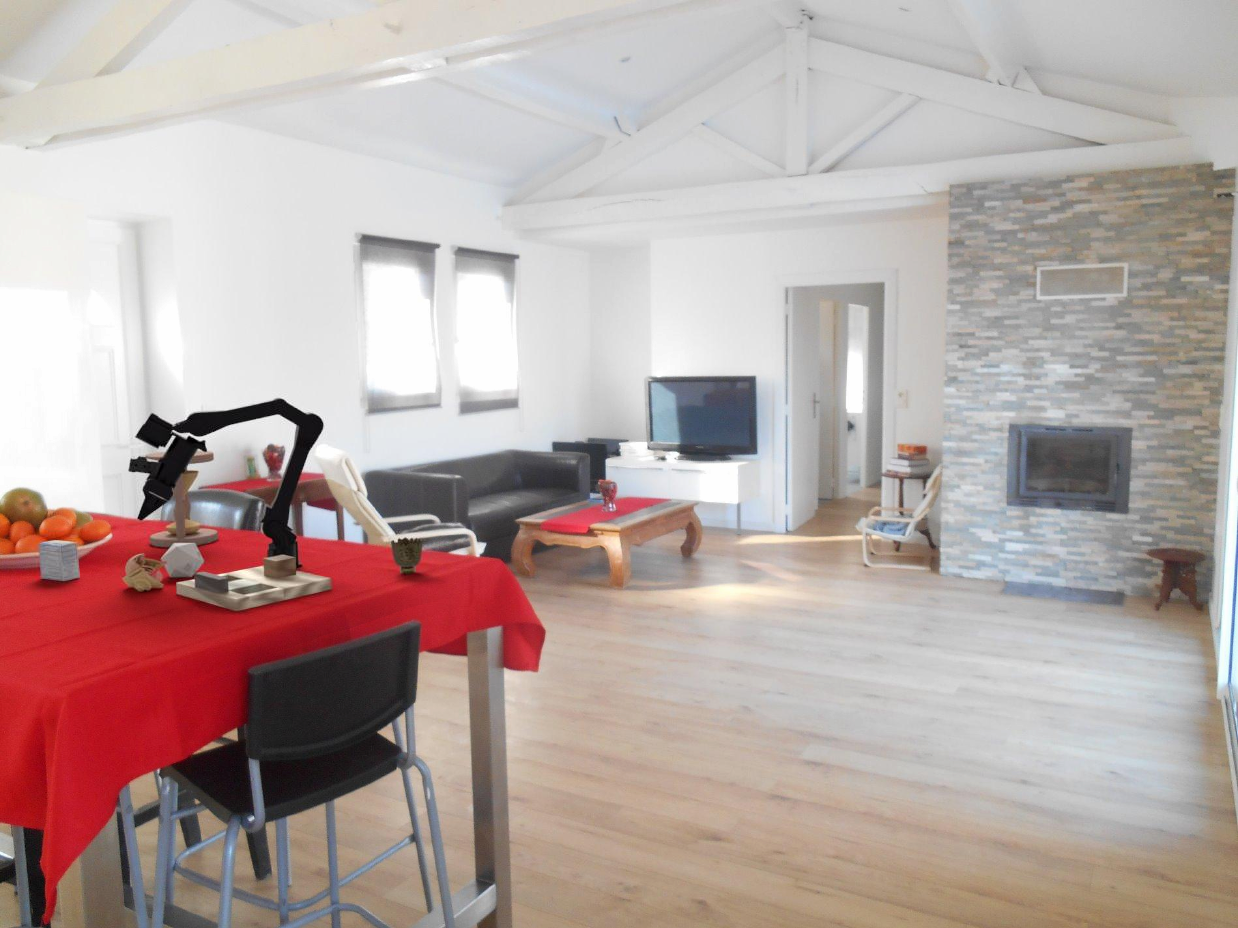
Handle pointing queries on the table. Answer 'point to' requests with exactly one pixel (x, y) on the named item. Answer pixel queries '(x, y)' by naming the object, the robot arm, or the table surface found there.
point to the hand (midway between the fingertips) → (140, 516)
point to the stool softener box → (59, 560)
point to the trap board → (250, 588)
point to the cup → (407, 554)
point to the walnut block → (279, 566)
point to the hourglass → (184, 510)
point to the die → (182, 560)
